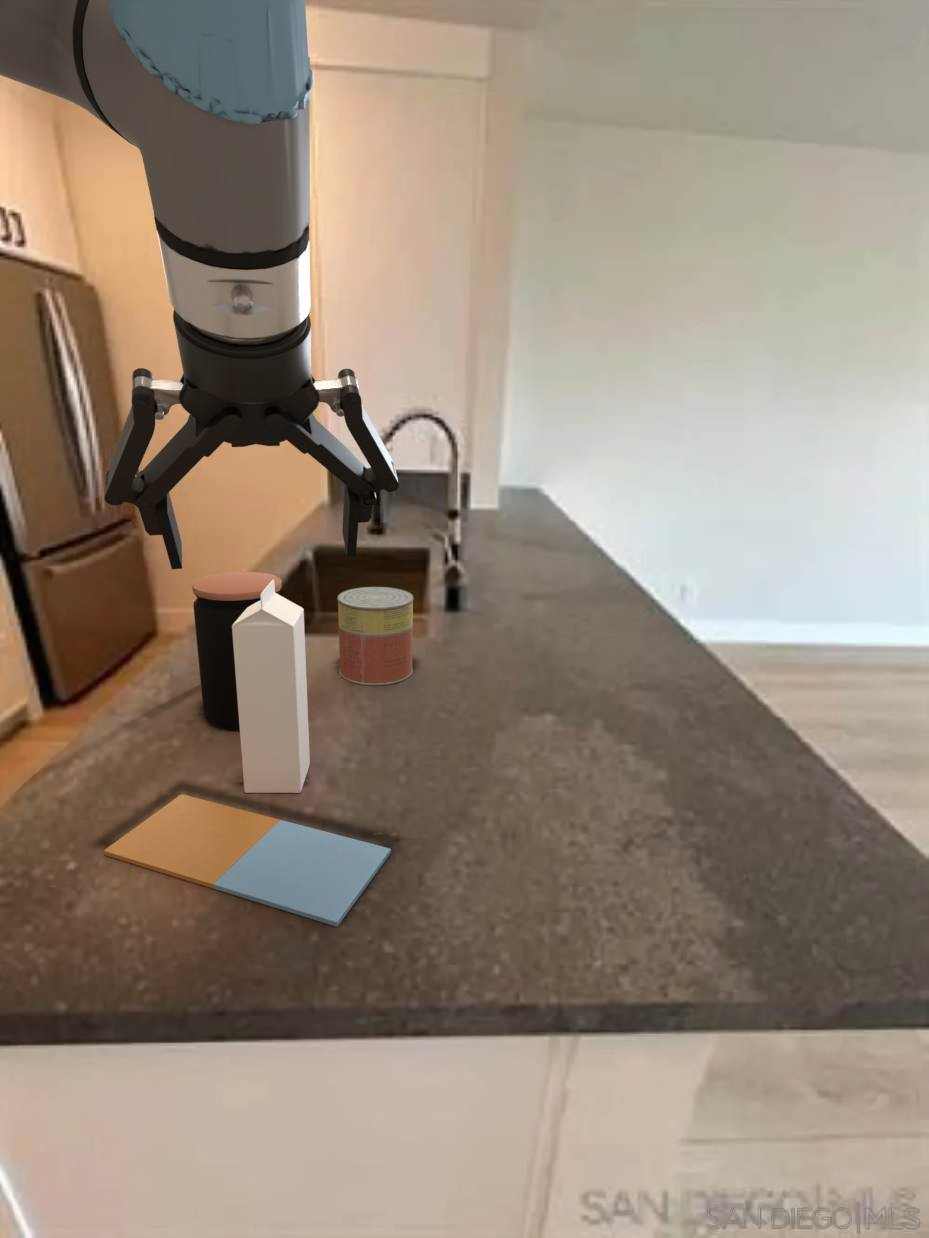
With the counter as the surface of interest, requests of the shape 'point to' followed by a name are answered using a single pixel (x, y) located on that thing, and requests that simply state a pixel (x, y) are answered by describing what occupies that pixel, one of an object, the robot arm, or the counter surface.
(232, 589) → the coffee jar
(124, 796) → the counter surface
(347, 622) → the canned food
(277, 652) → the milk
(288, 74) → the robot arm
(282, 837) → the sorting board
